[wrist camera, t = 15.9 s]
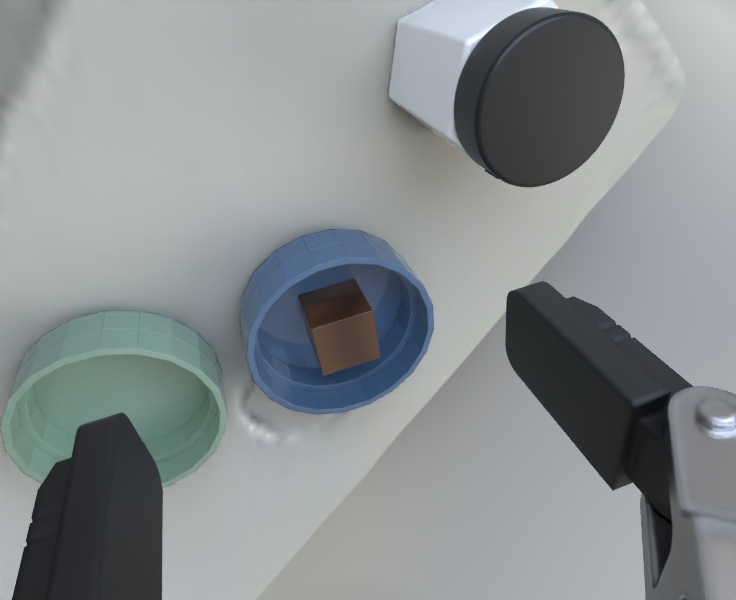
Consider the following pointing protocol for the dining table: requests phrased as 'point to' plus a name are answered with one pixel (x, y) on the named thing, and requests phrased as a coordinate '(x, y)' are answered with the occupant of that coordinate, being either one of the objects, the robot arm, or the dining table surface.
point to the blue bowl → (289, 332)
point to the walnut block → (340, 326)
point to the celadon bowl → (117, 391)
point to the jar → (510, 83)
